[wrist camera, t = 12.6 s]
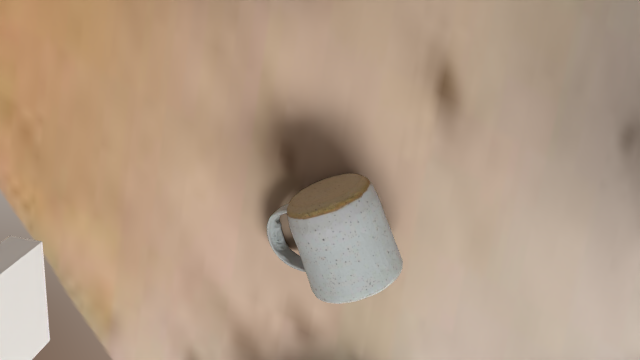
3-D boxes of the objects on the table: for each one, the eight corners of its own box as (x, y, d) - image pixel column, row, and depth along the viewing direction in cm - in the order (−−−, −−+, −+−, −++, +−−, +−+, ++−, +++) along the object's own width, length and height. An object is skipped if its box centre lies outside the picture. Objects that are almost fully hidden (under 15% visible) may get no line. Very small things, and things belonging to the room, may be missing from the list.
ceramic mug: (371, 158, 44) (365, 196, 37) (404, 243, 47) (404, 294, 40) (255, 195, 47) (229, 237, 40) (291, 274, 50) (272, 327, 43)
